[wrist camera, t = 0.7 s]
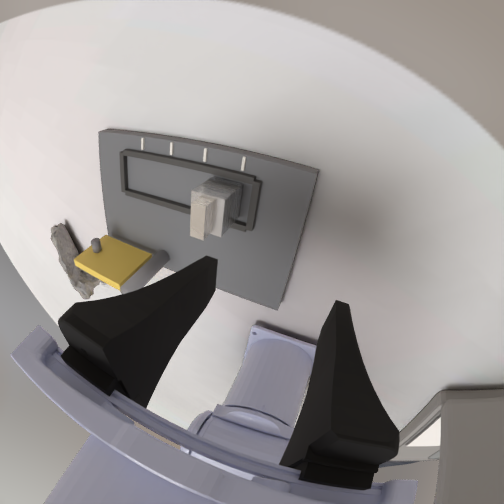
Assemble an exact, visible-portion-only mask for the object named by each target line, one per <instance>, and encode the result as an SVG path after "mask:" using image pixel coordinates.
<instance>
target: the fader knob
mask: <svg viewBox="0 0 504 504" xmlns="http://www.w3.org/2000/svg"><path fill="white" fill-rule="evenodd" d="M242 187H243V184H240V183H236V182H232V181H228V180H224V179H220V178H216V177H211V178H210V179H208V180H207V181H205V182H204V183H202V184H201V185H199V186H198V187H196V188H195V189H193V190H192V191H191V215H190V236H192V237H195V238H197V239H200V240H204V239H205V238H206V237H207V236H208V235H209V234H212V235H215V236H218V237H222V236H223V235H224V233H225V232H226V231H227V230H228V229H229V228H230V227H231V226H232V225H233V223H234V222H235V221H236V220H237V219H238V215H239V208H240V201H241V194H242Z"/></svg>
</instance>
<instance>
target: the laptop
mask: <svg viewBox="0 0 504 504" xmlns="http://www.w3.org/2000/svg"><path fill="white" fill-rule="evenodd" d="M399 436H400V442H399V451H398V454H397V456H396V457H395V458H393V459H391V460H389V461H430V460H439V469H438V478H437V486H436V493H435V499H434V504H504V389H489V390H443V391H440V392H438V393H437V394H436V396H435V397H434V398H433V399H432V400H431V401H430V402H429V403H428V405H427V406H426V407H425V408H424V409H423V410H422V411H421V412H420V413H419V414H418V415H417V416H416V417H415V418H414V419H413V420H412V421H411V422H410V423H409V424H408V425H407V426H406V427H405V428H404V429H403V430H402V431H401V432H400V435H399Z"/></svg>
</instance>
